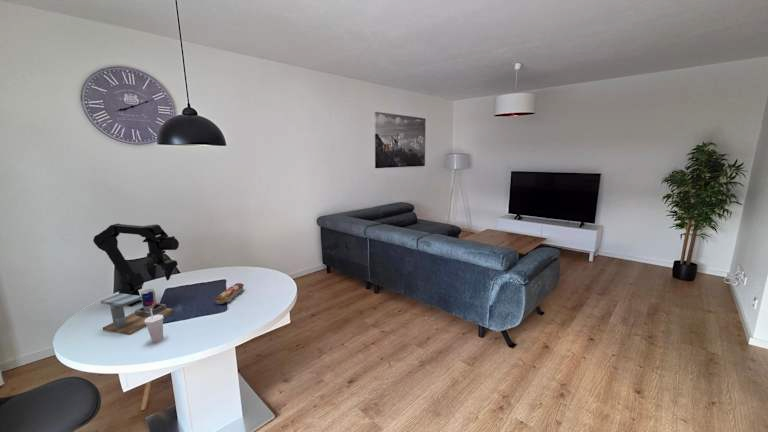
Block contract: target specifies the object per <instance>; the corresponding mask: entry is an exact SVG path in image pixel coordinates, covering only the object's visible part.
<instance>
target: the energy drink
mask: <svg viewBox="0 0 768 432" xmlns="http://www.w3.org/2000/svg"><path fill="white" fill-rule="evenodd" d="M140 296H142V299H141V300H142V302H141V303H142V307H143V309H144V311H148V312H150V308H152V310H154V309H156V308H157V298H156V291H155V290H154V289H153V288H148V289H145V290H142V291H141V292H140Z"/></svg>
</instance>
